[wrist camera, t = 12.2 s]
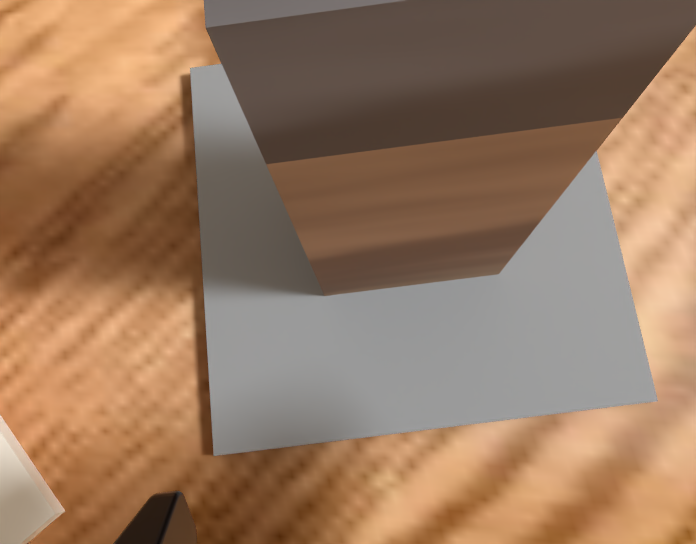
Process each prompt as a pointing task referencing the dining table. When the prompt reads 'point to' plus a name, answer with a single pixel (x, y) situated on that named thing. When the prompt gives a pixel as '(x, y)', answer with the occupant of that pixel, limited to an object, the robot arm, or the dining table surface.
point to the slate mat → (398, 316)
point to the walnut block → (433, 119)
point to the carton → (22, 493)
